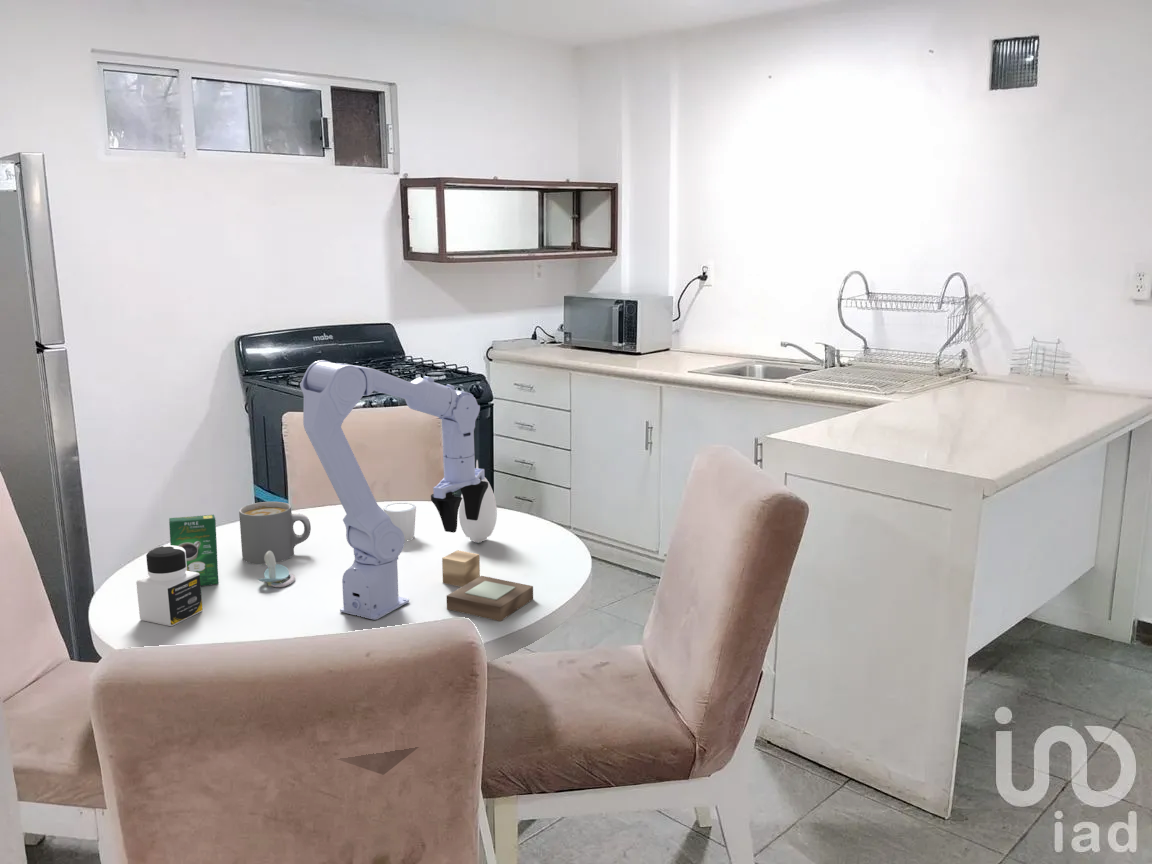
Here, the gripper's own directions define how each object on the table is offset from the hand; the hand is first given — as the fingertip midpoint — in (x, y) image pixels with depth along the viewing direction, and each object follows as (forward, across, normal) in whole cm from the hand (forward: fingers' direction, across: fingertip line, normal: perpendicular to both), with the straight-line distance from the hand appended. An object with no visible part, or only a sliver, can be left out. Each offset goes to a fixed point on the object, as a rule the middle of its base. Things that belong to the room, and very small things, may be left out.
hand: (461, 525), depth 170 cm
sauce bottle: (+11, +21, +9) cm, 25 cm away
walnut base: (+11, -8, -11) cm, 17 cm away
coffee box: (+10, -24, +43) cm, 50 cm away
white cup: (+11, +15, +26) cm, 32 cm away
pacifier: (+11, -16, +30) cm, 36 cm away
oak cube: (+11, -1, 0) cm, 11 cm away
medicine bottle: (+10, -36, +36) cm, 52 cm away
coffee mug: (+11, -5, +41) cm, 43 cm away
